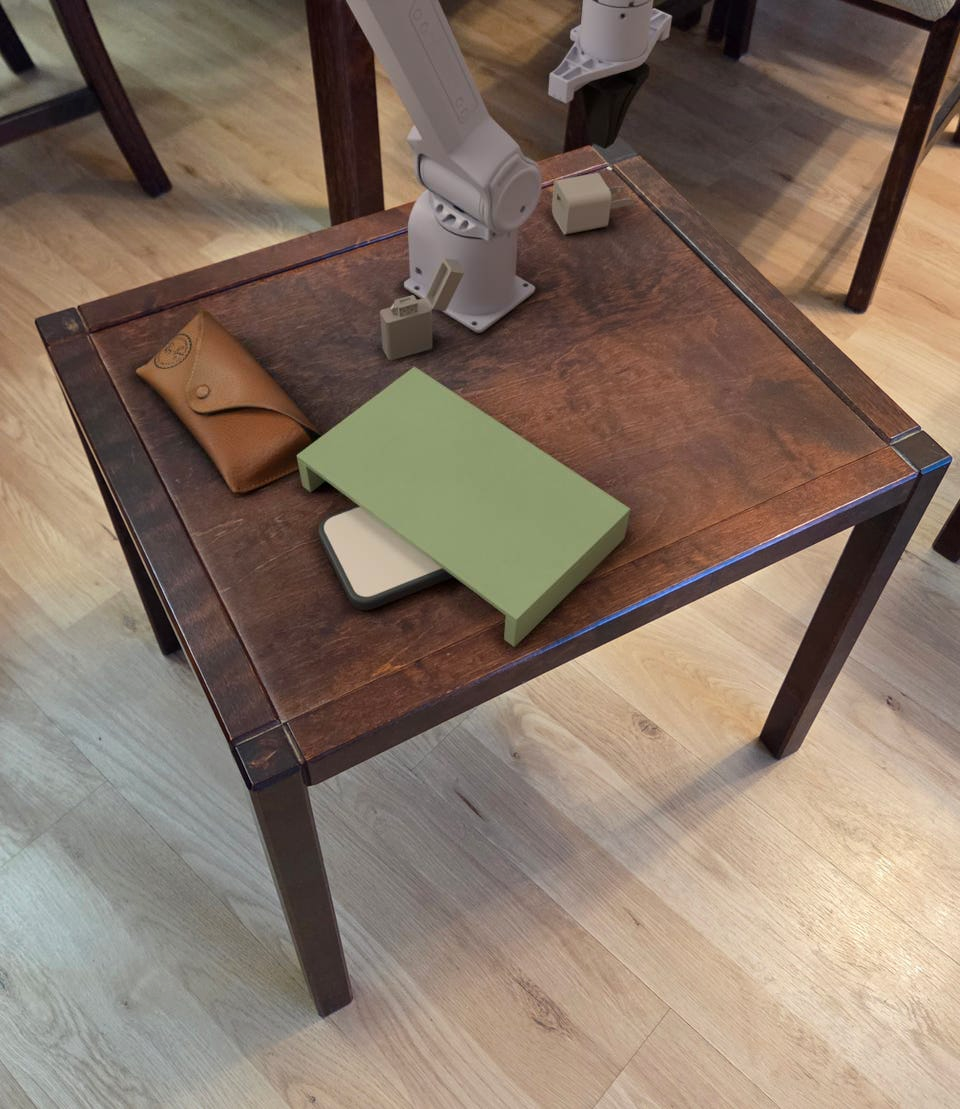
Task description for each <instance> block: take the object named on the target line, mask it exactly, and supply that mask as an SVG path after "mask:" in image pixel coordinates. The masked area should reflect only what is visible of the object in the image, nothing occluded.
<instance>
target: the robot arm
mask: <svg viewBox="0 0 960 1109" xmlns="http://www.w3.org/2000/svg"><path fill="white" fill-rule="evenodd" d="M345 1H346V3H347V5H348V7H349V9H350V10H351V12H352V14H353V16H354V18H355V20H356V21H357V23H358V25H359V27H360V28H361V30H362V33H363V34H364V36H365V38H366V39H367V42H368V44H369V46H370V47H371V49H372V51H373V52H374V54H375V56H376V58H377V60H378V61H379V63H380V65H381V67H382V68H383V70H384V72H385V74H386V75H387V77H388V80H389V81H390V83H391V85H392V87H393V89H394V91H395V92H396V94H397V96H398V98H399V99H400V101H401V103H402V105H403V106H404V108H405V110H406V112H407V114H408V116H409V118H410V120H411V121H412V123H413V125H412V127H411V129H410V131H409V133H408V135H407V137H406V141H407V144H408V145H409V147H410V149H411V152H412V155H413V157H412V158H413V174H414V175H415V179H416V181H417V182H418V183H419V185H420V186H421V187H423V188H425V190H424V191H423V192H422V193H421V194H420V196H419V197H418V198H417V200H415V202H414V205H413V206H412V209H411V211H410V214H409V218H408V223H407V240H408V259H409V277H408V279H406V280H405V281H404V282H403V288H404V289H406V290H407V291H409V292H410V293H412V295H414V296H415V295H416V297H418V298H419V299H422V298H423V299H425V296H426V293H427V291H428V289H429V287H430V285H431V283H432V281H433V278H434V276H435V274H436V272H437V270H438V268H439V266H440V263H441V261H442V259H444V258H445V259H451V260H457V261H458V262H459V264H460V265H461V267H462V268H463V270H464V274H463V277H462V279H461V281H460V283H459V285H458V287H457V289H456V291H455V293H454V295H453V297H452V299H451V301H450V303H449V305H448V307H447V309H446V311H441V312H442V313H444V314H445V315H447V316H449V317H450V318H452V319H453V320H455V321H456V322H458V323H460V324H461V325H463V326H464V327H466V328H467V329H470V330H471V331H473V332H474V333H476V334H480V333H483V332H485V331H486V330H487V329H489V328H490V327H491V326H492V325H494V324H495V323H497V322H498V321H499V320H500V319H502V318H503V317H504V316H506V314H508V313H509V312H511V311H512V310H513V309H515V308H517V306H518V305H520V304H521V303H522V302H524V301H525V300H526V299H528V298H529V297H530V296H532V295H533V294H534V293H535V291H536V286H535V285H534V284H532V283H530V282H528V281H527V280H525V279H523V278H522V277H520V276H518V275H517V257H518V240H519V239H518V238H519V228H520V227H521V226H523V224H525V223H526V222H527V221H528V219H529V218H530V217H531V216H532V215H533V213H534V212H535V209H536V208H537V206H538V203H539V200H540V198H541V194H542V187H543V174H542V173H543V172H542V169H541V167H540V166H539V164H538V163H537V161H535V160H533V159H531V158H529V157H527V156H525V155H524V153H523V152H522V149H521V147H520V145H519V144H518V143H517V142H516V141H515V139H514V138H513V137H512V136H511V135H510V134H508V132H507V131H506V130H505V129H503V127H501V125H499V123H497V121H496V120H495V119H493V117H492V116H491V115H490V114H489V111H488V109H487V107H486V105H485V103H484V100H483V98H482V96H481V94H480V91H479V89H478V87H477V85H476V84H477V83H476V82H475V80H474V78H473V75H472V73H471V71H470V69H469V66H468V64H467V62H466V59H465V57H464V55H463V53H462V51H461V48H460V46H459V43H458V42H457V38H456V37H455V34H454V32H453V30H452V28H451V26H450V23H449V22H448V18H447V17H446V15H445V13H444V10H443V8H442V6H441V3H440V1H439V0H345ZM653 6H654V0H582V7H581V18H580V24H579V25H577V26H575V27H573V28H572V29H571V30H570V35H569V38H570V40H571V41H572V42H574V43H573V45H572V46H571V48H570V49H569V51H568V52H567V53H566V55H565V56H564V58H563V60H562V61H561V62H560V64H559V65H558V66H557V67H556V68H555V69H554V70H553V71H551V72H549V77H548V78H549V79H548V90H547V91H548V92H547V94H548V96H550V97H551V98H553V99H555V100H558V101H560V102H561V103H564V104H568V103H570V102H571V101H573V100H574V95H575V92H576V93H577V95H578V97H579V98H578V99H579V100H580V103H581V107H582V110H583V111H582V112H583V115H584V122H585V126H586V133H587V138H588V142H590V143H592V144H594V145H596V146H598V147H599V148H602V149H604V150H605V149H607V148H609V147H610V146H612V145H613V144H614V143H615V142H616V140H617V138H618V135H619V132H620V130H621V127H622V125H623V122H624V120H625V118H626V115H627V113H628V110H629V108H630V106H631V104H632V103H633V100H634V98H635V97H636V95H637V93H638V92H639V90H640V89H641V88H642V86H643V84H644V83H645V82H646V81H647V80H648V78H649V76H650V70H651V67H650V66H649V64H647V63H646V61H647V59H648V57H649V55H650V53H651V52H652V50H653V48H654V47H655V45H656V44H657V41H659V42H663V41H665V40H666V39H668V38H669V37H670V32H671V26H672V20H673V15H671V14H669V13H667V12H664V11H662V10H659V9H658V8H653Z"/></svg>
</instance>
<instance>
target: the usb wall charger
mask: <svg viewBox="0 0 960 1109" xmlns="http://www.w3.org/2000/svg"><path fill="white" fill-rule="evenodd" d="M552 190H553V192H552V204H551V212H552V216H553V218H554V220H555V222H556V224H557V225H558V226H559V229H560V230H561V233H562V234H563V235H570V234H575V233H579V232H585V231H590V230H594V229H600V228H605V227H608V225H609V222H610V213H611V209H617V208H623V207H626V206H630V205H631V203H632V197H628V198H620V199H616V200H615V199H614V200H612V195H613V196H614V195H617V194H620V193H623V190H624V185H617V186H611V187H609V186H608V185H607V184H606V181H604V179H603V177H602V175H601V174H600V173H599V172H595V173H594V172H593V173H589V174H584V175H583V174H582V175H578V176H572V177H567V178H562V179H556V180H554V182H553V189H552ZM627 201H628V202H627Z"/></svg>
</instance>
